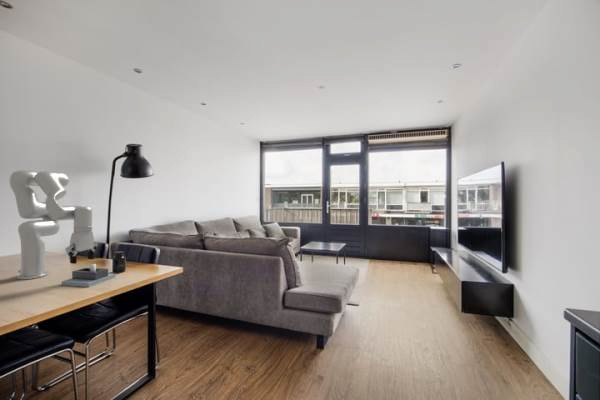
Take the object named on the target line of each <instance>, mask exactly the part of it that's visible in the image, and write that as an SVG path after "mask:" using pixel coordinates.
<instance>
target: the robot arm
mask: <svg viewBox="0 0 600 400" xmlns="http://www.w3.org/2000/svg"><path fill="white" fill-rule="evenodd" d="M69 181H70V180H69V177H68V175H67V174H65V173H63V172H58V171H47V170H46V171H44V170H43V171H37V170H25V169H23V170H16V171H13V172H12V173H11V174H10V176H9V186H10V188H11V190H12V192H13V194H14V196H15V201H16V205H17V211H18V214H19V216H20V218H21V219H24V220H25V219H26V220H27V219H28V221H23V222H22V223H21V224H19V225H18V227H17V232H18V235H19V239H20V261H21V262H20V266H21V267H20V269H18V270H17V273H20V274H19V275H18V276H17V277H16V278H17V279H18V280H32V279H38V278H43V277H47V276H48V275H50V274H49V273H50V272H49V271H47V270H46V247H45V246H46V244H45V242H44V241H43V240H42V238H43V237H48V236H49V237H50V236H54V235H57V234H58V232H59V231H60V223H59V221H68V220H69V221H70V220H71V221H72V220H73V232H72V233H71V236H70V240H69V246H67V247H66V248H65V249H64V250H65V253H66V254H67V255H68V256H69V258H70V259H69V262H70V264H74V265H75V264H77V263H78V261H77V260H78V258H77V254H78V253H79V252H84V251H87V259H89V260H94V259H95V251H96V249H97V247H98V245H99V243H98V242H97V241H94V240H95V239H94V233H93V231H92V230H93V227H94V226H92V225H93V209H92V207H90V206H81V205H60V204H59V203H58V202H57V201H59V200H60V199H62V198H64V197H65V196H66V195H67V189H66V188H65V187H67V186H68V185H69ZM30 186H31V187H33V186H35V187H40V189H41V190H42V192H43V193H44V194H45V196H46V198H45V200H44V201H39V199H38V195H37V193H36V191H35V190H34V189H33V188H31V187H30ZM33 219H37V220H33ZM41 237H42V238H41Z"/></svg>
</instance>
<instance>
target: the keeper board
mask: <svg viewBox="0 0 600 400" xmlns="http://www.w3.org/2000/svg"><path fill="white" fill-rule="evenodd" d="M89 268H90V271H92V272H96V268H97V264H96V263H91V264H89ZM116 276H117V275H116V273H109V272H108V276H106V277H104V278H101V279H98V280H82V279H72V277H71V278H68V279H65V280H62V281H61V286H68V287H84V288H90V287H92V286H96V285H99V284H100V283H104V282H106V281H110V280H112V279H114V278H116Z"/></svg>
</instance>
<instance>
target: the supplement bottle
mask: <svg viewBox="0 0 600 400" xmlns="http://www.w3.org/2000/svg"><path fill="white" fill-rule="evenodd" d="M111 264H112V266H111V271H112V274H120V273H124V272H126V269H127V267H126V266H127V265H126V264H127V257H126V256H125V251H115V252H114V256H113V257H112V262H111Z"/></svg>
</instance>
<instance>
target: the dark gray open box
mask: <svg viewBox="0 0 600 400" xmlns="http://www.w3.org/2000/svg"><path fill="white" fill-rule="evenodd" d="M108 273H109V268H104V267H103V268H102V267H96V272H92V271H90V267H84V268H83V267H82V268H80V269H76V270H73V271H72V272H71V278H72V279H82V280H98V279H101V278H104V277H106V276H108Z"/></svg>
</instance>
